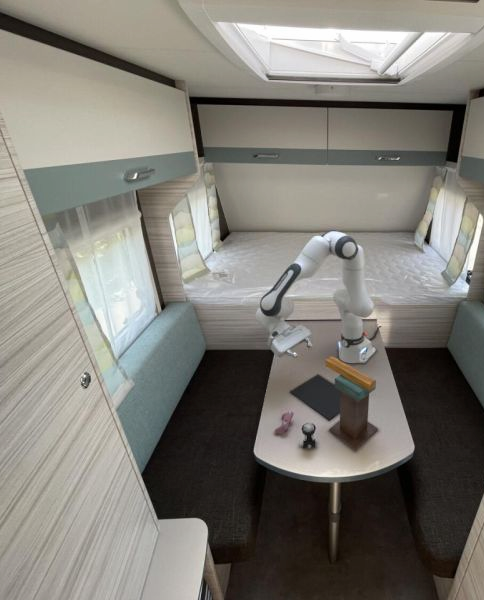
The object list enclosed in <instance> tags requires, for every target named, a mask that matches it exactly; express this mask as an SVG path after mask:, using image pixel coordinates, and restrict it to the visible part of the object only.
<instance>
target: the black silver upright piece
mask: <svg viewBox="0 0 484 600" xmlns="http://www.w3.org/2000/svg"><path fill="white" fill-rule="evenodd" d="M316 430H317V427H316V425H315V424H314V423H313V422H306V423H304V424H303V425H302V426H301V433H302V435H304V438H303V439H302V441H301V442H298V446H299V447H303V448H307V449H311V448H313V449H314V448H316V438H315V436H314V434H315V432H316Z"/></svg>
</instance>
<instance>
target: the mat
mask: <svg viewBox="0 0 484 600" xmlns="http://www.w3.org/2000/svg"><path fill="white" fill-rule="evenodd" d="M290 393H291V394H292V395H294V396H295V397H296V398H298V400H300V401H302V403H304V404H306V405H307V406H308V407H310V408H311V409H313V410H314V411H315V412H317V413H318V414H320V415H321V416H322V417H324V418H325V419H326V420H327V421H331V420H332V419H334V418H335V417H337V415H340V390H339V389H337V388H336V387H335V383H333V382H331V381H329V380H328V379H326V378H324V377H323V376H321V375H320V374H316V375H315V376H313V377H312V378H309V379H308V380H307V381H304V382H303V383H302V384H300V385H299V386H297V387H295V388H294V389H292V390H290Z"/></svg>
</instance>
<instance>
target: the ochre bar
mask: <svg viewBox="0 0 484 600" xmlns="http://www.w3.org/2000/svg"><path fill="white" fill-rule="evenodd" d="M325 367H327V368H329V369H330V370H331V371H333V372H335V373H337V374H338V375H342V376H344V377H345V378H347V379H349V380H351V381H352V382H354V383H356V384H357V385H359V386H361V387H362V388H364V389H366V390H368V391H370V390H371V389H373V388H374V387H375V380H376V379H375V378H373V377H371V378H370V376H369V375H367V374H365V373H364V372H362V371H360V370H359V369H356V368H355V367H353V368H352V366H350V365H349V364H348V363H346V362H344V361H342V360H341V359H339V358H336V357H334V356H330V357H328V358H326V359H325ZM359 371H360V372H359ZM361 372H362V373H361ZM372 378H373V379H372ZM375 388H376V387H375Z"/></svg>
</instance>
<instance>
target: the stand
mask: <svg viewBox="0 0 484 600" xmlns="http://www.w3.org/2000/svg"><path fill="white" fill-rule="evenodd" d="M351 367H352V366H351ZM352 368H354V366H353V367H352ZM358 371H359V372H361V373H363V372H362V371H360V370H358ZM369 377H370V376H369ZM370 378H372V379H374V378H373V377H370ZM374 380H375V387H374V388H373V389H371V390H370V391H368V390H366V389H364V388H362V387H361V386H359V385H357V384H356V383H354V382H352V381H351V380H349V379H347V378H345V377H344V376H342V375H340V374H338V376H336V377H335V378H334V385H335V387H336V388H337V389H339V390H340V413H339V421H337V422H336V423H335V424H334V425H332V426H331V427H330V428H329V432H330V433H331V434H332V435H334V436H335V437H336V438H338V439H339V440H341V441H342V442H343V443H344V444H345V445H347V446H348V447H350V448H351V449H353V450H354V451H355V452H356V451H357V450H358V449H359V448H360V447H361V446H362V445H363V444H365V442H366V441H368V440H369V439H370V438H371V437H372V436H374V435H375V433H376V432H377V431H378V427H376V426H375V425H374V424H372V423H370V422H369V406H370V405H369V403H370V394H371V393H372V392H373V391H374V390H376V385H377V380H376V379H374Z"/></svg>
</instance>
